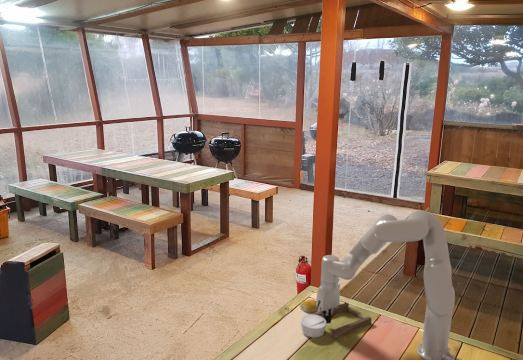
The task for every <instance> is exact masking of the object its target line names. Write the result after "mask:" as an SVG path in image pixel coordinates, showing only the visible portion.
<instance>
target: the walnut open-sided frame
mask: <svg viewBox="0 0 523 360" xmlns="http://www.w3.org/2000/svg"><path fill="white" fill-rule="evenodd" d="M349 305H350V304H349V303H348V302H345V303H341V304H339V305H338V307H337V308H335V309H334V311H333V314H332V315H331V317H332V316H334V315H338V314H341V313H342V312H345V311H347V312H349V313H350V314H352V315H354V316H355V317H357V318H359V319H358V320H356V321H353V322H350V323H348V324H345V325H343V326H340V327H337V328H334V329H332V332H331V337H332V338H333V339H335V338H339V337H341V336H343V335H346V334H349V333H351V332H354V331H356V330H359V329H362V328H364V327H367V326H369V325H372V317H371V316H366V317H364V316H363V315H361V314H359V313H357V312H356V311H355V310H354V309H352V308H350V306H349ZM312 314H313V315H318V316H321V317H323V318H324V314H323V313H319V312H318V311H316V312H313V313H312Z"/></svg>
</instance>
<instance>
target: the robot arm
mask: <svg viewBox="0 0 523 360" xmlns="http://www.w3.org/2000/svg"><path fill="white" fill-rule="evenodd" d="M358 240H359V241H358V242H357V243H356V244H355V245H354V246H353V247H352V248H351V249H350V251H348V253H346V255H345V256H344V257H343V259H342V260H340V258H339V256H336V255H332V254H328V255H327V254H326V255H324V256H322V259H321V267H320V268H321V271H320V286H318V289H317V293H316V299H315V301H316V307H318V310H317V312H319V313H323V314H324V319H325V320H326V323H327V324H326V325H329V324H331V323H332V316H333V315H332V314H333V311H334V309H335V308H337V307H338V305H340V294H341V293H340V292H339V286H338V282H339V281H340V279H342V280H346V281H348V280H352V279H353V278H354V277H355V276H356V273H357V272H358V270H359V269H360V267H361V266H362V265H363V264H364V263H365V262H366V261H367V260H368V259H369V258H370V257H371V256H372V255H376V254H378V253H379V251H380V250H381V249H382V248H384V246H385V245H386V244H387V243H406V242H418V241H422V242H423V250H424V257H425V259H424V260H425V261H424V262H425V263H424V269H423V283H424V293H425V301H426V308H425V317H424V324H423V332H422V340H421V343H419V345H418V346H417V348H416V352H417V355H418V356H419V357H421V358H422V359H423V360H456V356H455V355H454V354H452V353H451V348H450V347H449V340H450V339H449V338H450V335H451V334H450V331H451V325H452V318H453V311H454V308H455V302H456V299H455V298H456V295H455V291H456V290H455V289H454V286H453V281H452V278H453V277H452V264H451V261H450V253H449V245H448V241H447V240H448V239H447V234H446V230H445V228H444V226H443V224H442V222H441V221H440V220H439V219H438V217H436V215H435V214H432V213H431V212H429V211H427V210H422V209H418V210H415V211H412V212H411V213H410V215H408V217H407V219H398V218H397V217H396V216H394V215H393V214H390V213H389V214H384V215H381V216H380V217H379V218H378V219H377V221H375V223H374V224H373V225H372V226H371V227H370V228H369V229H368V230H367V231H366V232H365V233H364V234H363V236H362V237H361V238H360V239H358ZM331 315H332V316H331Z"/></svg>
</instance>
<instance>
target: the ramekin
mask: <svg viewBox="0 0 523 360" xmlns="http://www.w3.org/2000/svg"><path fill="white" fill-rule="evenodd" d="M313 314H314V313H312V314H311V313H309V314H306V315H303V316H301V318H300V325H301V331H302V334H304V335H305V336H306V337H308V338H311V339H314V338H315V339H316V338H320V337H322V336H323V335H324V333H325V332H326V331H325V330H326V327H327V325H328V324H327V323H326V320H325V319H324V318H323V317H321V316H318V315H313Z"/></svg>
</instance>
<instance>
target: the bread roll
mask: <svg viewBox="0 0 523 360" xmlns="http://www.w3.org/2000/svg"><path fill="white" fill-rule="evenodd" d="M299 308H300V310H301V311H303V312H304V313H315V312H318V307H316V299H307V300H304V301H302V302H300V305H299Z"/></svg>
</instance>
